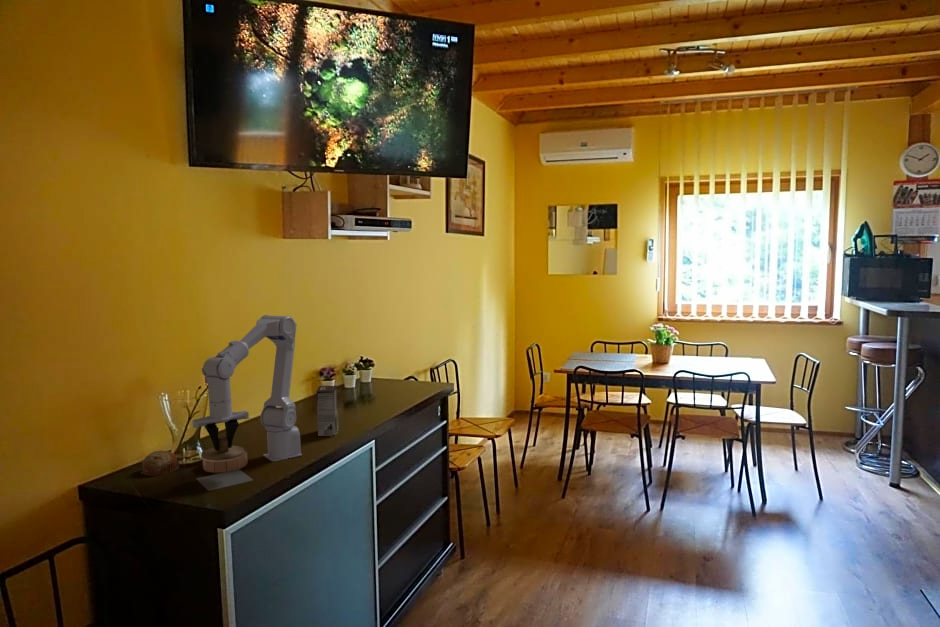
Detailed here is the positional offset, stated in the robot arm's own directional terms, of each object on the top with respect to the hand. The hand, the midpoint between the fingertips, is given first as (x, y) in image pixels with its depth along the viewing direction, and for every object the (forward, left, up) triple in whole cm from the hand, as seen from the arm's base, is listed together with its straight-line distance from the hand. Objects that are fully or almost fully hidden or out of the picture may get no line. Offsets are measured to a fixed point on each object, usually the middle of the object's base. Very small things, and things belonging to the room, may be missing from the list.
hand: (222, 448), depth 175 cm
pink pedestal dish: (0, 0, -2) cm, 2 cm away
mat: (0, 0, -9) cm, 9 cm away
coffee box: (-43, -24, -10) cm, 50 cm away
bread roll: (+12, -21, -10) cm, 26 cm away
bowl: (-4, -12, -9) cm, 16 cm away
